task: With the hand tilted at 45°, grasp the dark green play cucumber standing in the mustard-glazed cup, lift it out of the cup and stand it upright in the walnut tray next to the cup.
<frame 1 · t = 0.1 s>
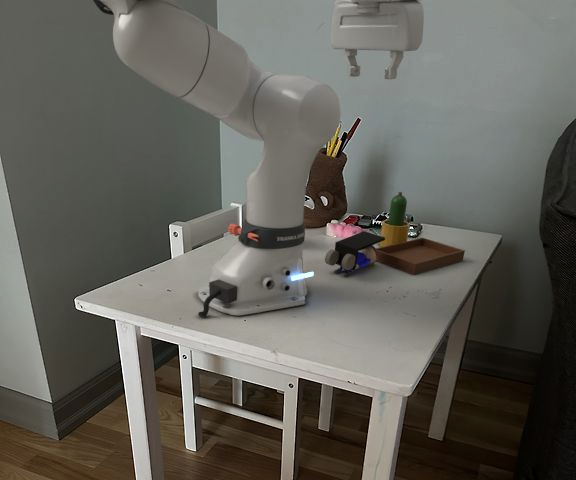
hand: (371, 77, 106), 39 cm above the table, tool pointing down, fingers open, 8 cm apart
tray: (417, 260, 135), on the table
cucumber: (392, 243, 145), point 1 cm above the table, touching cup
figurine character: (353, 270, 127), on the table
cup: (392, 245, 145), on the table
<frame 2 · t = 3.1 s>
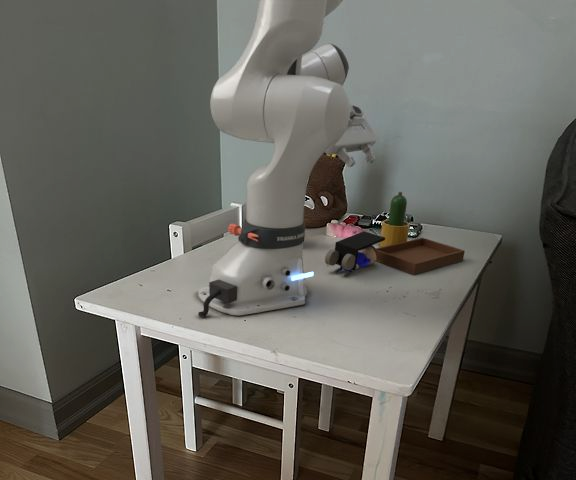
hand: (362, 163, 142), 19 cm above the table, tool tilted 45°, fingers open, 8 cm apart
nothing on the table moved.
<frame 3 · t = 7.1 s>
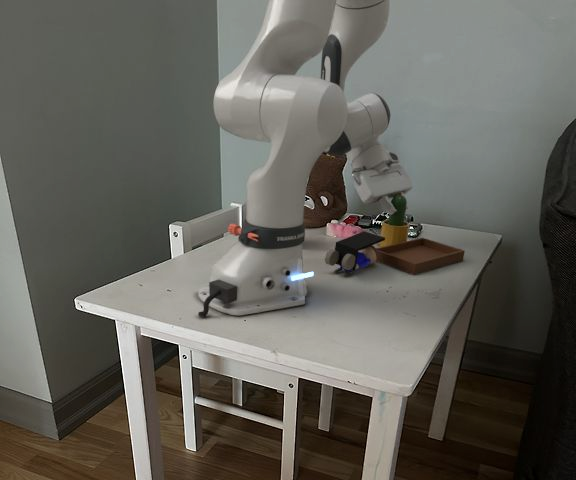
hand: (399, 211, 140), 9 cm above the table, tool tilted 45°, fingers closed on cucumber, 4 cm apart
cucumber: (392, 243, 145), point 1 cm above the table, touching cup, gripper
everything else where it was.
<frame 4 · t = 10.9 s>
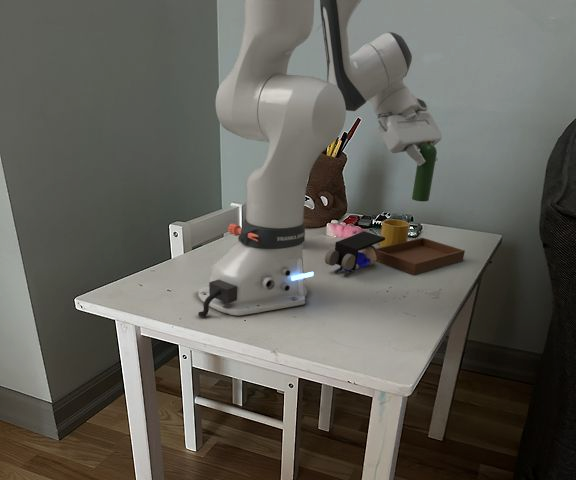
hand: (428, 163, 128), 22 cm above the table, tool tilted 45°, fingers closed on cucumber, 4 cm apart
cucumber: (420, 199, 132), point 14 cm above the table, touching gripper
everything else where it was.
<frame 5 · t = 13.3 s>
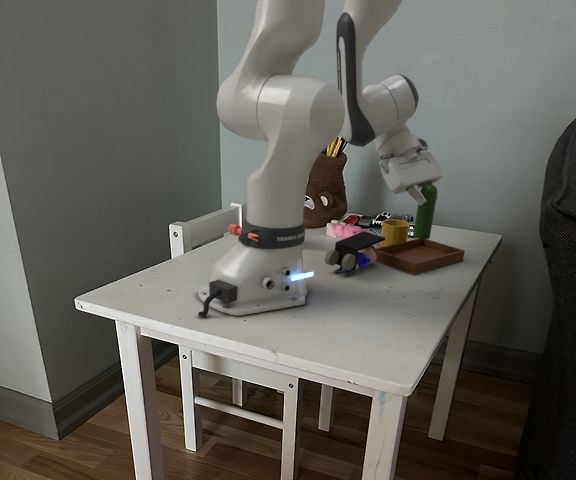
hand: (429, 202, 130), 14 cm above the table, tool tilted 45°, fingers closed on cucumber, 4 cm apart
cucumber: (421, 236, 135), point 5 cm above the table, touching gripper
everything else where it was.
when the fingers open (9 cm above the table, at t = 14.9 s): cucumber stays where it is, resting on tray.
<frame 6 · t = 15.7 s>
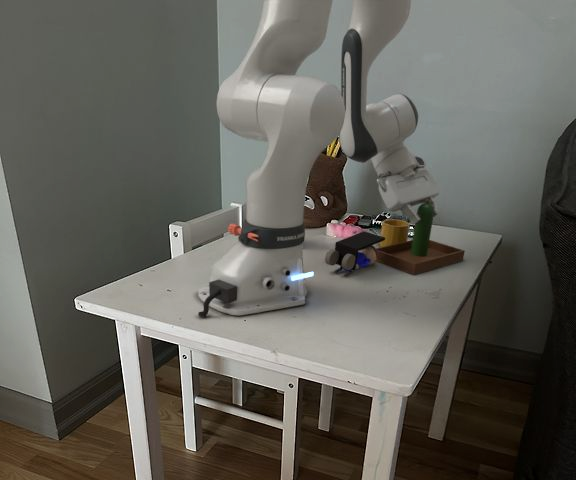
hand: (426, 219, 132), 10 cm above the table, tool tilted 45°, fingers open, 8 cm apart
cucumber: (418, 254, 137), point 1 cm above the table, touching tray
everything else where it was.
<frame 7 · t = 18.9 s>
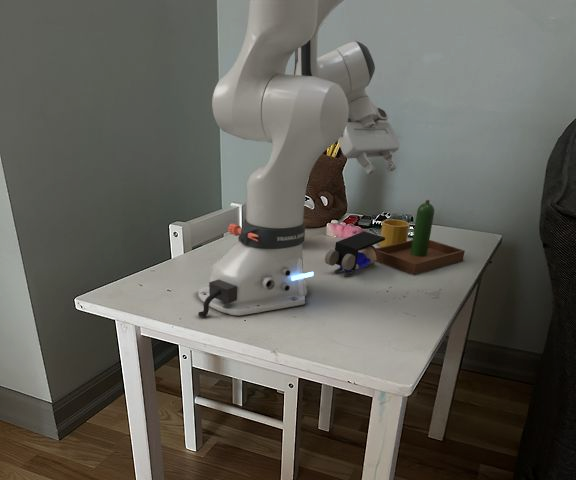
hand: (382, 170, 134), 19 cm above the table, tool tilted 40°, fingers open, 8 cm apart
nothing on the table moved.
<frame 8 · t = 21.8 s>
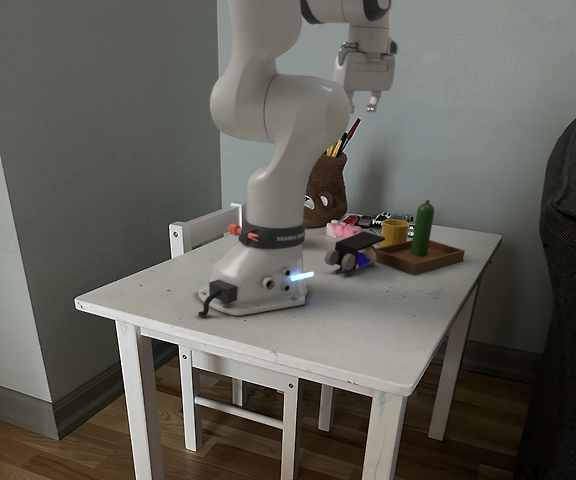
hand: (360, 112, 129), 31 cm above the table, tool pointing down, fingers open, 8 cm apart
nothing on the table moved.
at the end: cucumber inside the target area in the tray (2.6 cm from its centre), point 0.8 cm above the tray's base; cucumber tilted 0°; the gripper is holding nothing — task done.
